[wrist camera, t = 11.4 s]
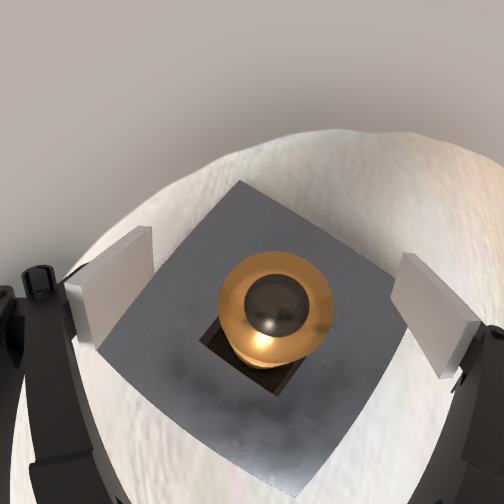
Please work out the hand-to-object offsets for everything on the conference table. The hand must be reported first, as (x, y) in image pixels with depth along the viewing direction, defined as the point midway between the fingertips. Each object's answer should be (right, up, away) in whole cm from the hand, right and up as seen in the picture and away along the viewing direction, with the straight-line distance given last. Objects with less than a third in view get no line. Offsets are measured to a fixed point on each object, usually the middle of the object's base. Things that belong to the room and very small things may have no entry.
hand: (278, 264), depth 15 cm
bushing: (0, -6, +9) cm, 11 cm away
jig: (0, -6, +9) cm, 11 cm away
